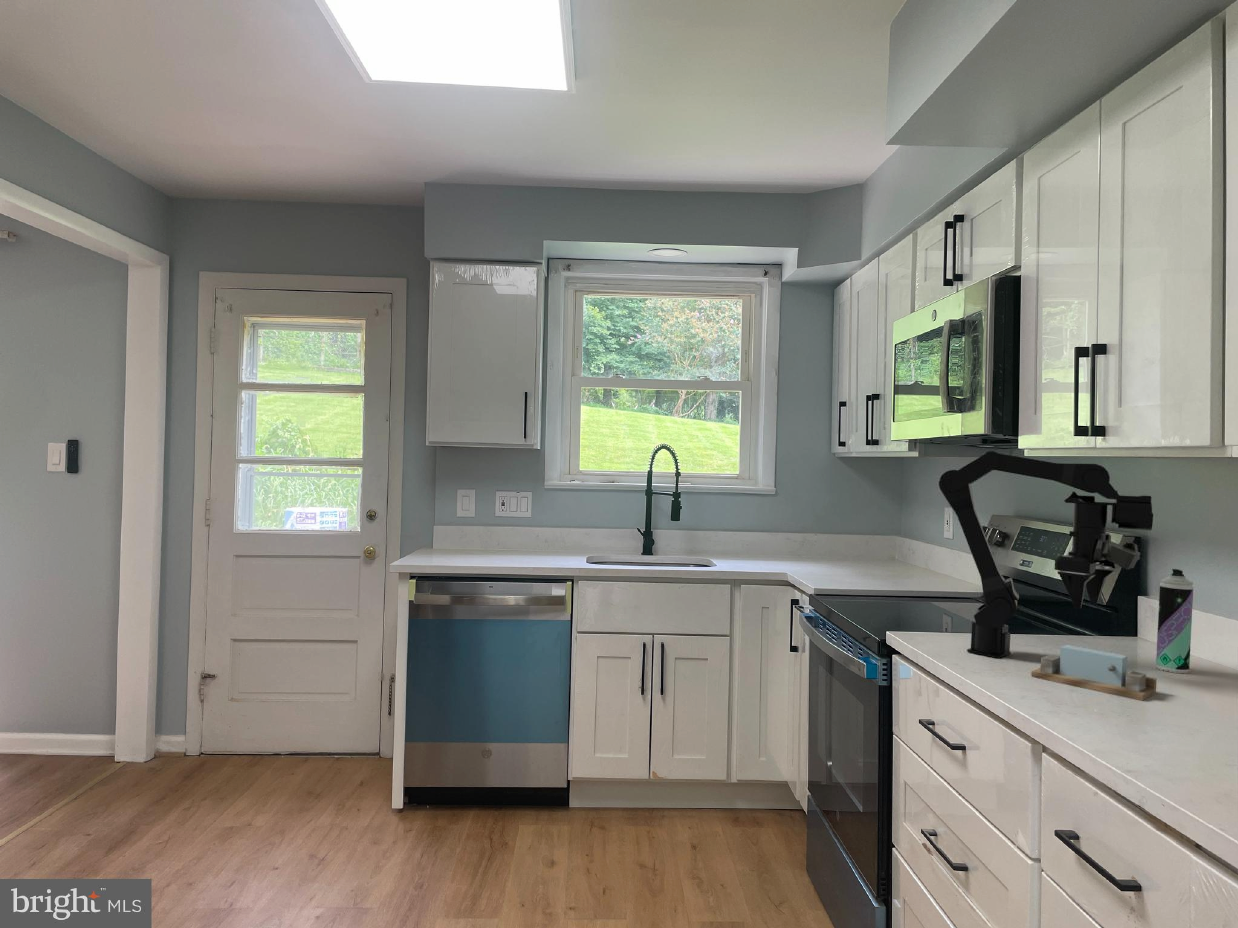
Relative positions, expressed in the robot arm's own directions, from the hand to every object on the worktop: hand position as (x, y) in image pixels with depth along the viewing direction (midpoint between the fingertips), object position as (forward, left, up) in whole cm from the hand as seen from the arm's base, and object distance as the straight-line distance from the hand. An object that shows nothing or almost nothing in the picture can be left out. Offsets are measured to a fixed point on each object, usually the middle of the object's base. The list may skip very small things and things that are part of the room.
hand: (1086, 605), depth 162 cm
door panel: (+6, -14, -11) cm, 19 cm away
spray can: (+12, +13, -12) cm, 21 cm away
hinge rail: (+6, -14, -12) cm, 19 cm away
